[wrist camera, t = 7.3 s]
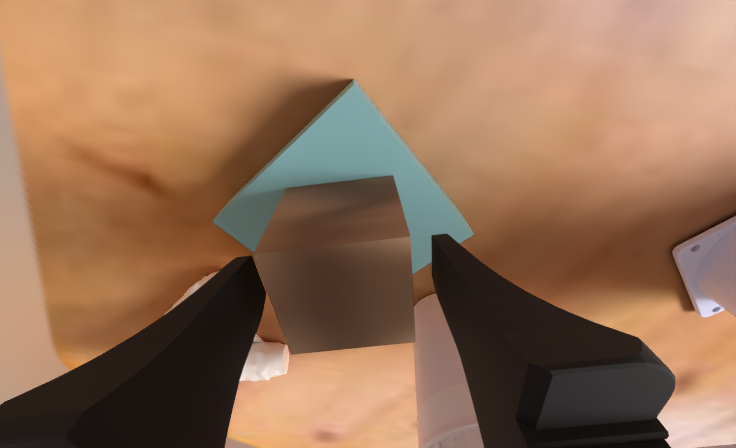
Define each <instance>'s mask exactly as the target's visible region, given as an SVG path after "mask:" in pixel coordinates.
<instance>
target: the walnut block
mask: <svg viewBox="0 0 736 448" xmlns="http://www.w3.org/2000/svg"><path fill="white" fill-rule="evenodd" d="M253 256H254V258H255V261H256V264H257V266H258V269H259V271H260V274H261V277H262V279H263V282H264V285H265V287H266V290H267V292H268V295H269V298H270V300H271V303H272V305H273V308H274V311H275V313H276V316H277V319H278V321H279V324H280V326H281V329H282V332H283V334H284V337H285V339H286V342H287V345H288V347H289V350H290V353H291V354H301V353H311V352H321V351H331V350H341V349H351V348H361V347H370V346H380V345H390V344H400V343H410V342H416V338H415V318H414V298H413V277H412V257H411V237H410V233H409V230H408V226H407V223H406V219H405V215H404V212H403V208H402V205H401V201H400V198H399V194H398V190H397V187H396V183H395V180H394V176H393V175H391V176H383V177H374V178H366V179H357V180H349V181H340V182H332V183H324V184H315V185H307V186H298V187H290V188H286V190H285V192H284V194H283V196H282V198H281V200H280V202H279V204H278V206H277V208H276V210H275V212H274V213H273V215H272V217H271V219H270V221H269V223H268V225H267V227H266V229H265V231H264V233H263V235H262V237H261V239H260V241H259V243H258V245H257V247H256V249H255V251H254V253H253Z"/></svg>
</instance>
